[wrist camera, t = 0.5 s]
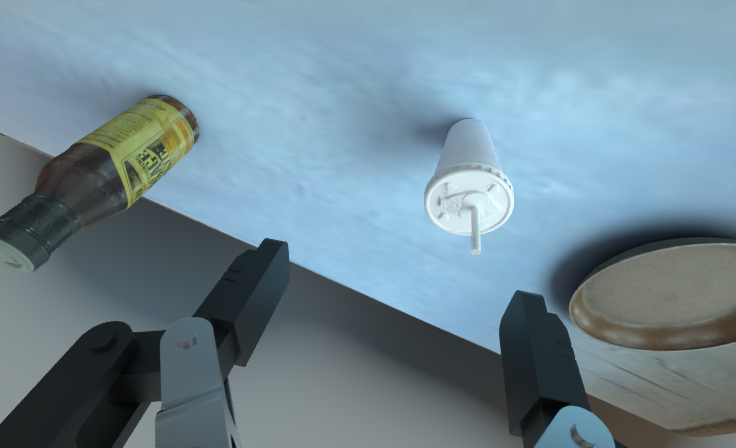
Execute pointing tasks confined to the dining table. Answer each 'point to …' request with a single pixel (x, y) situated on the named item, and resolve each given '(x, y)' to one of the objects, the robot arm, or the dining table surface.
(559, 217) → the dining table surface
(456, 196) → the smoothie
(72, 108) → the dining table surface
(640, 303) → the plant saucer
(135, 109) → the sauce bottle
